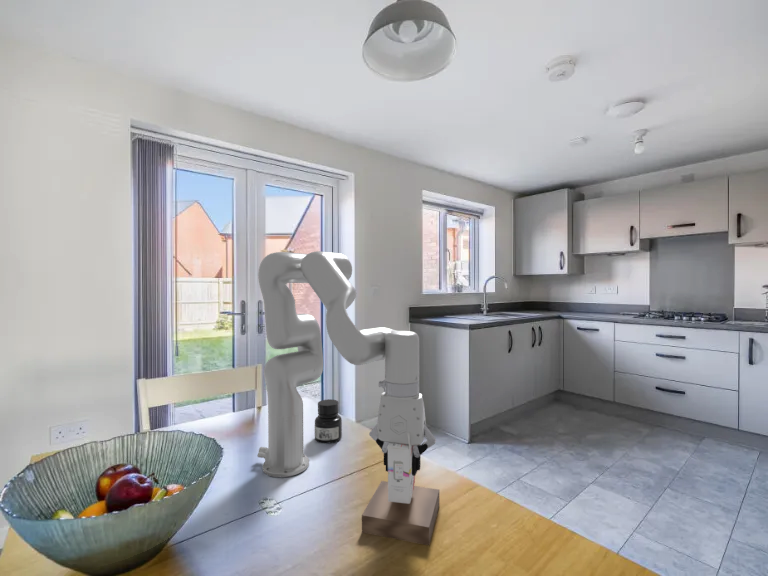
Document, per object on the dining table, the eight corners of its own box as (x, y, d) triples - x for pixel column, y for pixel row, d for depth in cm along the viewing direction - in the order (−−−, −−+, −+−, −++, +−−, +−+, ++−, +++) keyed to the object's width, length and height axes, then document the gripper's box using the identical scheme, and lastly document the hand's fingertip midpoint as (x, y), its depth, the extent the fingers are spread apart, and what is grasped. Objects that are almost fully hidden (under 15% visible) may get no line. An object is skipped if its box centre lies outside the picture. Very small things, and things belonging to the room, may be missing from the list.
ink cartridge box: (394, 481, 87) (394, 417, 87) (415, 483, 86) (415, 419, 86) (386, 502, 78) (386, 432, 78) (410, 505, 77) (410, 434, 77)
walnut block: (361, 534, 77) (361, 515, 77) (381, 497, 91) (381, 480, 91) (429, 547, 73) (429, 527, 73) (439, 506, 87) (439, 489, 87)
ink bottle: (309, 442, 121) (308, 405, 121) (320, 432, 130) (319, 397, 130) (337, 445, 119) (337, 407, 119) (346, 434, 128) (346, 399, 127)
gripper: (359, 389, 81) (359, 473, 81) (438, 396, 76) (438, 485, 76) (370, 380, 88) (370, 457, 88) (443, 386, 83) (443, 468, 83)
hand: (401, 469), depth 82 cm, fingers closed on ink cartridge box, 5 cm apart
